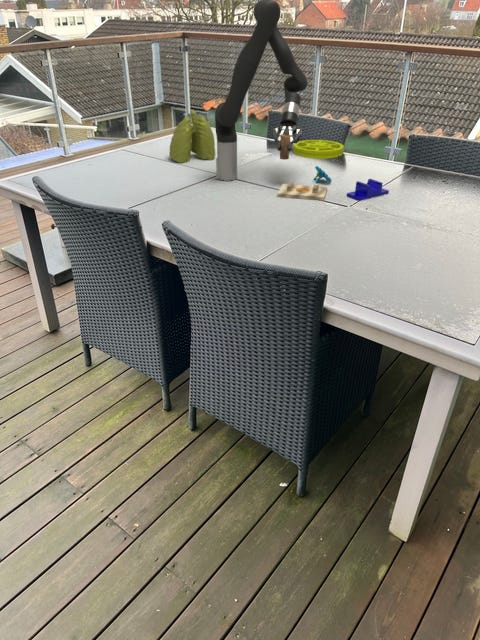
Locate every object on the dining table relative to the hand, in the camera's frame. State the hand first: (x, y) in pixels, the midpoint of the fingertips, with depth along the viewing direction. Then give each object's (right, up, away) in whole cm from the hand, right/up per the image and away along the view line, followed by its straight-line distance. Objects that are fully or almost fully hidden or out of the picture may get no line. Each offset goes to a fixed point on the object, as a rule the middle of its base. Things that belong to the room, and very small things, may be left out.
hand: (284, 150), depth 215 cm
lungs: (-45, +13, +50) cm, 69 cm away
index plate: (+8, -19, -1) cm, 21 cm away
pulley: (+25, +20, +62) cm, 70 cm away
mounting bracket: (+36, -21, -2) cm, 42 cm away
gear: (+19, -10, +14) cm, 26 cm away
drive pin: (0, -2, +4) cm, 5 cm away
